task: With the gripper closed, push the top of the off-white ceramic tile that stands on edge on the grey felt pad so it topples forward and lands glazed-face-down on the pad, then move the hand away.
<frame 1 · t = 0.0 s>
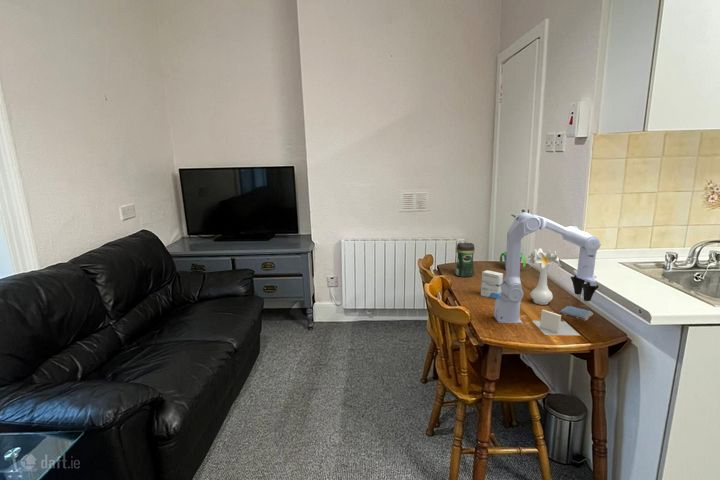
hand: (582, 297, 161), 10 cm above the table, tool pointing down, fingers open, 7 cm apart
woven mat: (576, 316, 170), on the table
felt pad: (555, 328, 156), on the table
ink box: (490, 296, 192), on the table
flower vase: (539, 302, 184), on the table
snack cup: (511, 270, 235), on the table
tile: (549, 329, 154), resting on felt pad
coffee jar: (464, 275, 224), on the table
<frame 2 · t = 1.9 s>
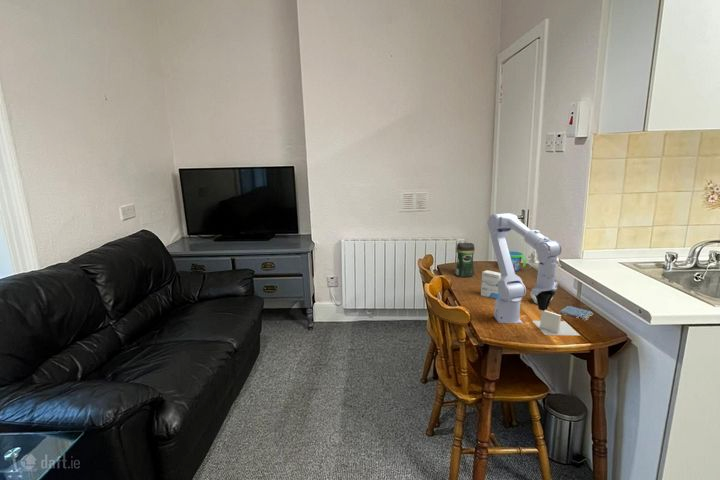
hand: (542, 309, 148), 10 cm above the table, tool pointing down, fingers closed
nothing on the table moved.
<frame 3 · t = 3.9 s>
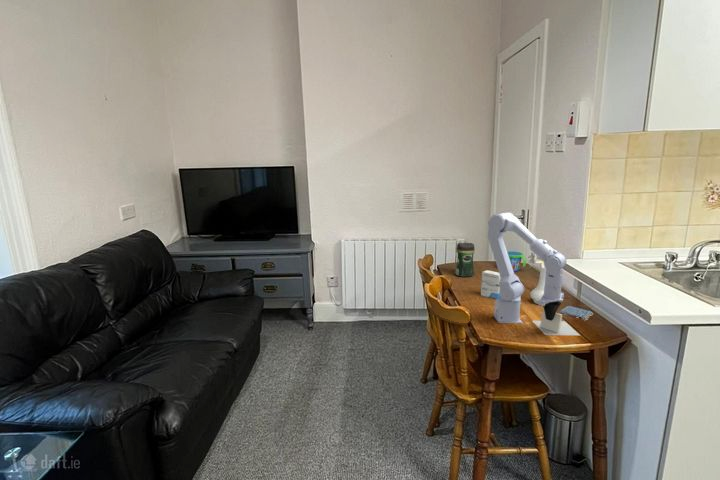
hand: (549, 319, 152), 5 cm above the table, tool pointing down, fingers closed
tile: (549, 329, 154), resting on felt pad, tilted 9°
everything else where it was.
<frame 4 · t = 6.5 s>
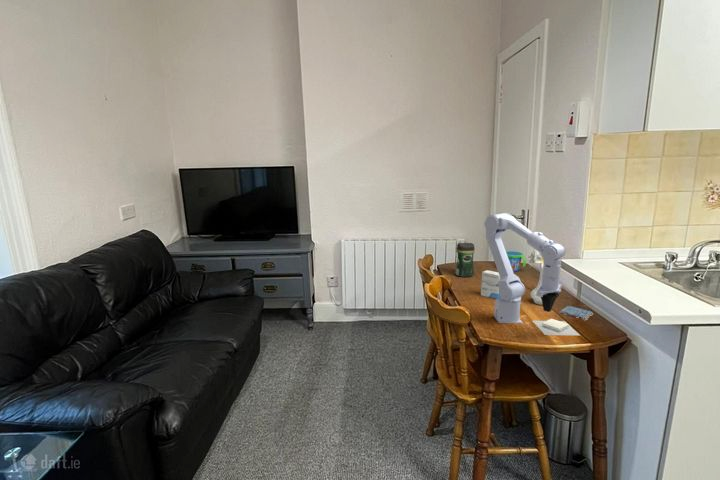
hand: (547, 310, 150), 9 cm above the table, tool pointing down, fingers closed
tile: (550, 327, 154), point 1 cm above the table, tilted 90°, touching felt pad
everything else where it was.
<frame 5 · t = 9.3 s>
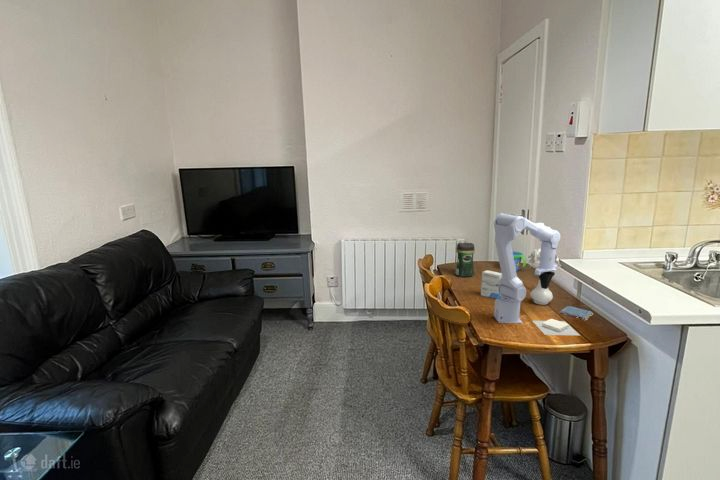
hand: (544, 288, 171), 10 cm above the table, tool pointing down, fingers closed
nothing on the table moved.
at the end: tile tilted 90°; tile inside the target area on the felt pad (2.8 cm from its centre), point 1.2 cm above the felt pad's base; tile touching felt pad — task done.
